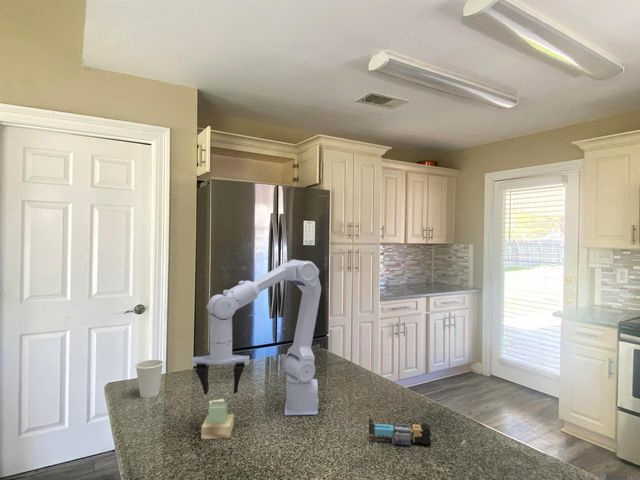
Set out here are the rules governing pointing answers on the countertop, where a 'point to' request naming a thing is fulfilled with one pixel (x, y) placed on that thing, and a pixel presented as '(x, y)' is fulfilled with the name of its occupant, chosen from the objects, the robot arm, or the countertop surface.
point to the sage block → (218, 412)
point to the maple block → (217, 428)
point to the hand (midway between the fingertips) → (221, 392)
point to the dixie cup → (149, 377)
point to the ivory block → (216, 401)
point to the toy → (402, 432)
